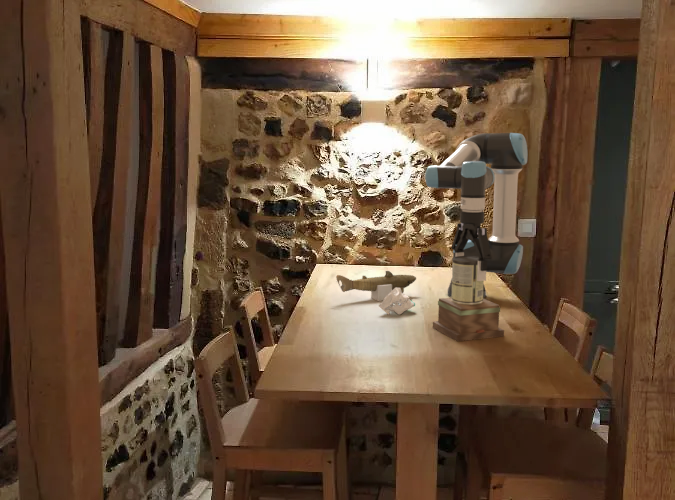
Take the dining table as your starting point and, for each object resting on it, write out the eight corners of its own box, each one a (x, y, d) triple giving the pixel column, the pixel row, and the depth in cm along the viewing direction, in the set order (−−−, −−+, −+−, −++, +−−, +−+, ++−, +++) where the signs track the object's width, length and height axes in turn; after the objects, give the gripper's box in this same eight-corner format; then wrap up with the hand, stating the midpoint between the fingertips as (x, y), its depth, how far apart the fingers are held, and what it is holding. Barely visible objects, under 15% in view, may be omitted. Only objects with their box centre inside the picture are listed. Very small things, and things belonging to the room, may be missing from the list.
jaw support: (414, 308, 221) (395, 289, 222) (397, 325, 224) (378, 305, 224) (418, 301, 233) (400, 282, 233) (401, 316, 235) (383, 298, 236)
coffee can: (453, 296, 210) (454, 254, 208) (484, 298, 207) (486, 256, 205) (448, 303, 201) (449, 260, 199) (481, 306, 198) (483, 262, 195)
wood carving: (331, 300, 245) (331, 272, 243) (409, 292, 259) (409, 266, 257) (340, 306, 236) (341, 277, 235) (420, 297, 250) (421, 270, 249)
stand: (476, 322, 215) (478, 294, 213) (503, 336, 200) (505, 305, 198) (432, 327, 209) (433, 298, 208) (457, 341, 194) (458, 310, 193)
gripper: (442, 207, 208) (440, 269, 212) (483, 215, 185) (480, 285, 189) (462, 206, 211) (460, 267, 215) (505, 214, 188) (502, 283, 192)
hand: (469, 276), depth 202 cm, fingers open, 13 cm apart
